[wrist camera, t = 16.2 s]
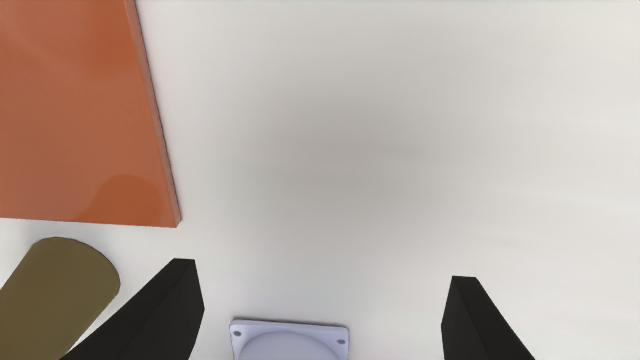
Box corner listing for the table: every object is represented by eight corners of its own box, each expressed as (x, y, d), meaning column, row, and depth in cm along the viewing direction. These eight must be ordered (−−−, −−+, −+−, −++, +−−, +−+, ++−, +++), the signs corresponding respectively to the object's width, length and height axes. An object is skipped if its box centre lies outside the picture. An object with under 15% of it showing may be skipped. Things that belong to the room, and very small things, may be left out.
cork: (120, 251, 27) (-11, 435, 17) (120, 313, 30) (9, 496, 21) (22, 226, 26) (-167, 401, 17) (32, 292, 29) (-121, 469, 20)
